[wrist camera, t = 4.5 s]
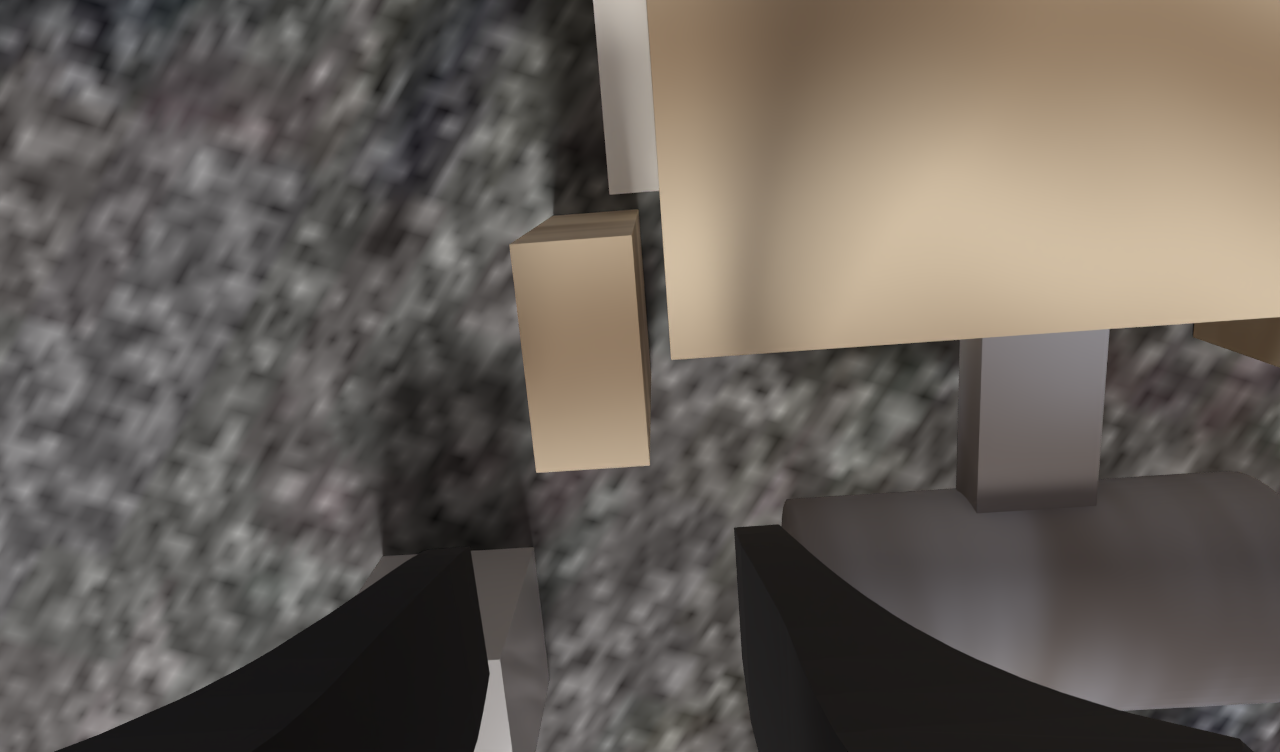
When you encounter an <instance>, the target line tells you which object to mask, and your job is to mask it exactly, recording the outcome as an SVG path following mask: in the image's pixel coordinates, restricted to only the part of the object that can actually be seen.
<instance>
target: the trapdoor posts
mask: <svg viewBox="0 0 1280 752" xmlns="http://www.w3.org/2000/svg"><path fill="white" fill-rule="evenodd" d="M510 253H511V262H512V270H513V279H514V287H515V296H516V304H517V313H518V321H519V330H520V338H521V347H522V355H523V364H524V372H525V381H526V389H527V398H528V406H529V415H530V423H531V432H532V440H533V449H534V457H535V466H536V473H542V472H557V471H572V470H587V469H602V468H617V467H633V466H648V465H650V416H651V368H650V354H649V341H648V328H647V315H646V302H645V289H644V276H643V262H642V249H641V236H640V223H639V210H638V209H634V210H622V211H609V212H596V213H583V214H570V215H557V216H552V217H550V218H549V219H547V220H546V221H544V222H543V223H541V224H540V225H538V226H537V227H535V228H534V229H532V230H531V231H529V232H528V233H526V234H525V235H523V236H522V237H520V238H519V239H517V240H516V241H514V242H513V243H511V244H510ZM1193 337H1194V338H1197V339H1200V340H1203V341H1206V342H1209V343H1212V344H1214V345H1217V346H1220V347H1223V348H1226V349H1229V350H1232V351H1234V352H1237V353H1240V354H1243V355H1246V356H1249V357H1252V358H1254V359H1257V360H1260V361H1263V362H1266V363H1269V364H1272V365H1274V366H1277V367H1280V317H1273V318H1258V319H1244V320H1230V321H1216V322H1202V323H1194V333H1193Z"/></svg>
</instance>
